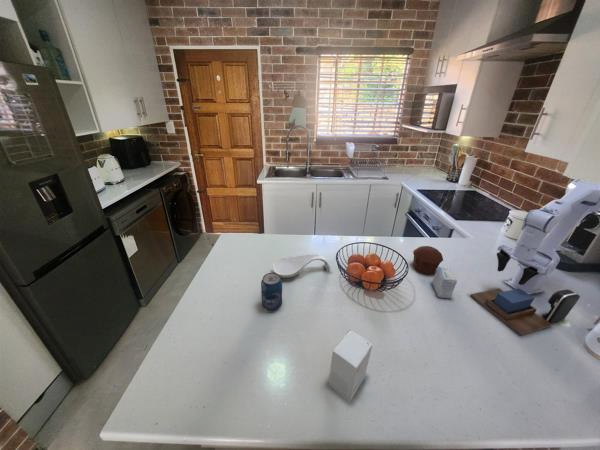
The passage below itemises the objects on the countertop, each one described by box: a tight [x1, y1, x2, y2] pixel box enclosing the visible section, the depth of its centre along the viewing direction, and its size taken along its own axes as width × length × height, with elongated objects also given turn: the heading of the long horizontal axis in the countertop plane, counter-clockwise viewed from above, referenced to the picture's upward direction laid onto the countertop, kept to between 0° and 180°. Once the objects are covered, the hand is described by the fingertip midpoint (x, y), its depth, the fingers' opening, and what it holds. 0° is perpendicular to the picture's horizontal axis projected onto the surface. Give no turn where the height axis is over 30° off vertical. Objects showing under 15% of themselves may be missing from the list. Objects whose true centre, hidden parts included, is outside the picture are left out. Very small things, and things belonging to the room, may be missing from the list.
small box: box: [328, 329, 373, 402], centre depth 60 cm, size 8×6×13 cm
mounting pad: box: [470, 288, 553, 337], centre depth 86 cm, size 14×18×3 cm
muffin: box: [412, 245, 444, 275], centre depth 105 cm, size 12×11×10 cm
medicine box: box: [431, 266, 458, 300], centre depth 93 cm, size 8×4×9 cm, turn 168°
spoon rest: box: [272, 253, 331, 279], centre depth 101 cm, size 24×12×7 cm, turn 103°
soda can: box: [260, 272, 283, 313], centre depth 82 cm, size 7×7×12 cm
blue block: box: [493, 288, 535, 314], centre depth 85 cm, size 10×5×6 cm, turn 106°
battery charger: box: [541, 289, 581, 323], centre depth 82 cm, size 7×4×11 cm, turn 103°
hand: (510, 277), depth 89 cm, fingers open, 7 cm apart
